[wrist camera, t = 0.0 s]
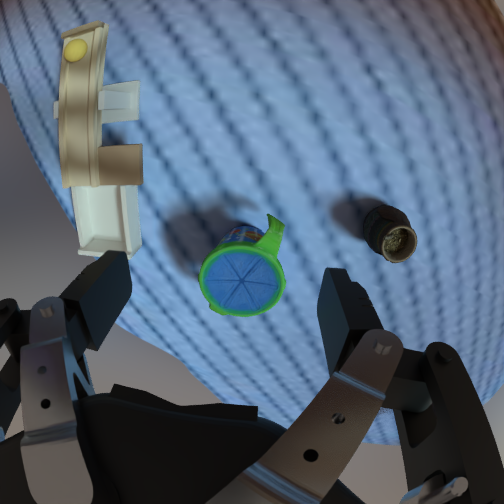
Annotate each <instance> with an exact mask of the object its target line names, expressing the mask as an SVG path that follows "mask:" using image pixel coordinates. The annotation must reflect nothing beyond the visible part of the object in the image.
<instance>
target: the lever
mask: <svg viewBox="0 0 504 504" xmlns="http://www.w3.org/2000/svg"><path fill="white" fill-rule="evenodd" d="M108 29H109V25H108V24H105V23H103V22H101V21H99V20H98V21H95V22H91V23H88V24H85V25H82V26H79V27H77V28H74V29H71V30H69V31H66V32H63V33H62V35H61V38H62V39H64V46H63V54H62V62H61V73H60V87H59V150H60V165H61V176H62V185H63V188H68V187H73V186H91V187H98V186H100V185H141V184H143V156H142V144H126V145H112V146H102V110H98V96H99V91H102V89H103V73H104V62H105V52H106V43H107V36H108ZM74 39H83V40H84V41H86V43H87V45H88V49H87V53H86V54H85V56H84V57H83V58H82V59H80V60H79V61H76V62H70V61H68V60H66V59H65V57H64V49H65V47H66V45H67V44H68V43H69V42H70V41H72V40H74Z"/></svg>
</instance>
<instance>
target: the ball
mask: <svg viewBox="0 0 504 504" xmlns="http://www.w3.org/2000/svg"><path fill="white" fill-rule="evenodd" d="M87 49H88V45H87V43H86V41H84V40H83V39H74V40H72V41H70V42H69V43H68V44H67V45H66V47H65V49H64V57H65V59H66V60H68V61H70V62H76V61H79V60H80V59H82V58H83V57H84V56H85V54H86V53H87Z"/></svg>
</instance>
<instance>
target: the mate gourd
mask: <svg viewBox="0 0 504 504" xmlns="http://www.w3.org/2000/svg"><path fill="white" fill-rule="evenodd" d="M363 230H364V237H365V240H366V242H367V244H368V245H369V247H370V248H371V249H372V250H373V251H374V252H376V253H378V254H380V255H383V257H384V258H385V259H386V260H387V261H390V262H392V263H399V262H403V261H405V260H406V259H408V258H409V257H410V256H411V255H412V254H413V253H414V251H415V249H416V246H417V236H416V233H415V231H414V230H413V229H412V228H411V225H410V222H409V220H408V218H407V216H406V215H405V213H403V212H402V211H400V210H399V209H397V208H394V207H393V206H389V205H381V206H379V207H377V208H375V209H373V210H372V211H371V212H370V213H369V214H368V215H367V217H366V219H365V221H364V225H363Z"/></svg>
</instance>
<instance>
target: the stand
mask: <svg viewBox="0 0 504 504" xmlns="http://www.w3.org/2000/svg"><path fill="white" fill-rule="evenodd" d="M139 99H140V80H137V81H130V82H123V83H117V84H111V85H105V86H103V89H102V91H99V96H98V110H102V124H103V123H111V122H121V121H131V120H139ZM57 118H59V101H56V102H54V119H57Z"/></svg>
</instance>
